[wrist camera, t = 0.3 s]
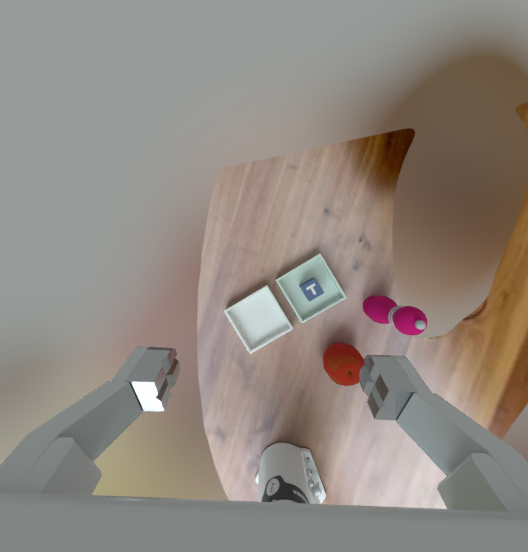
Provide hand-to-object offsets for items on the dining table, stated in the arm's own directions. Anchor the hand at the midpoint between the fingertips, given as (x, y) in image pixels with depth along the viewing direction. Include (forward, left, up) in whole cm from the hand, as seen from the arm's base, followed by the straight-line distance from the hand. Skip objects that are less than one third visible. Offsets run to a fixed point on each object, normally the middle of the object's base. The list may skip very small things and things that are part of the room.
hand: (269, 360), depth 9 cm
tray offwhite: (-7, +9, -52) cm, 53 cm away
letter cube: (-7, -8, -51) cm, 52 cm away
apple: (-28, -5, -52) cm, 60 cm away
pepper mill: (-21, -21, -52) cm, 60 cm away
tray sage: (-7, -8, -52) cm, 53 cm away
